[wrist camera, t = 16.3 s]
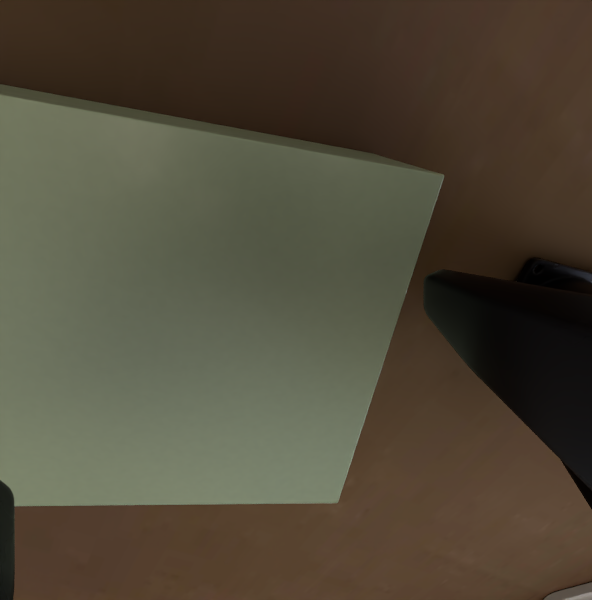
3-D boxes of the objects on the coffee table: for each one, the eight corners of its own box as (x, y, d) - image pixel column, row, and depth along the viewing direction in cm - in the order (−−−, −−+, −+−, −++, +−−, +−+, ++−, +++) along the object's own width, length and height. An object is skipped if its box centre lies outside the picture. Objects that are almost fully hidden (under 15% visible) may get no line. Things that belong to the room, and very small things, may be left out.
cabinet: (-2, 387, 19) (-108, 507, 13) (-65, 72, 13) (-300, 40, 8) (312, 402, 23) (337, 503, 17) (372, 153, 17) (445, 175, 11)
